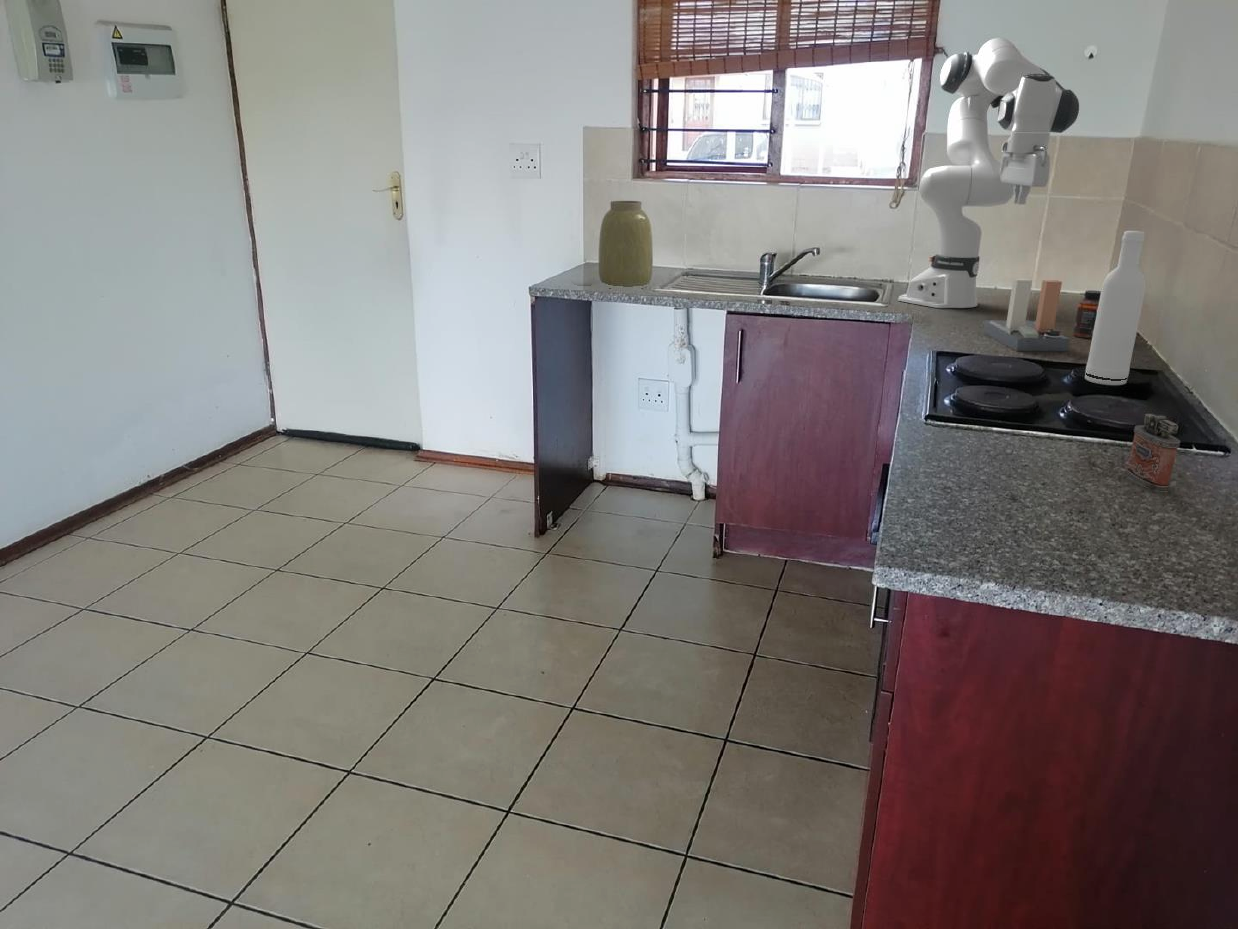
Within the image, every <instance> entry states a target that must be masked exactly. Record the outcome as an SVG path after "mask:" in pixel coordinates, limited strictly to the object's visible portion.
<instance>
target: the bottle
mask: <svg viewBox="0 0 1238 929" xmlns="http://www.w3.org/2000/svg"><path fill="white" fill-rule="evenodd" d="M1145 236H1146V233H1145V231H1141V230H1140V231H1139V230H1125V231H1124V232H1123V236H1122V238H1121V242H1122V243H1121V248H1120V252H1119V256H1118V257H1119V258H1118V263H1117V266H1116V268H1114V269H1112V270H1111V271H1110V272H1109V273H1108V274H1107V275H1106V277H1105V278H1104V280H1103V282H1102V285H1101V295H1100V300H1099V305H1098V310H1097V316H1096V321H1095V326H1094V331H1093V337H1092V338H1091V343H1090V349H1089V352H1088V353H1089V354H1088V359H1087V361H1086V362H1087V363H1086V366H1085V373H1084V374H1085V375H1084V379H1085V380H1086V381H1088V382H1091V383H1094V384H1098V385H1105V386H1122V385H1125V384H1127V381H1128V378H1129V374H1130V370H1131V369H1130V368H1131V367H1130V366H1131V361H1132V356H1133V352H1134V348H1135V342H1136V337H1137V333H1138V328H1139V323H1140V318H1141V313H1142V308H1143V302H1144V299H1145V294H1146V288H1147V285H1146V278H1145V275H1144V274H1143V272H1142V271H1141V270H1140V269H1139V263H1140V259H1141V254H1142V250H1143V244H1144V243H1145ZM1086 373H1087V374H1091V375H1094V376H1098V377H1103V378H1110V379H1125V378H1127V379H1126V380H1121V381H1111V380H1102V379H1096V378H1092V377H1089V376H1087V375H1086Z"/></svg>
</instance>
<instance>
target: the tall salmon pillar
mask: <svg viewBox="0 0 1238 929" xmlns="http://www.w3.org/2000/svg"><path fill="white" fill-rule="evenodd" d="M1062 285H1063V281H1061V280H1057V279H1050V280H1049V279H1047V280H1046V279H1043V280H1042V282H1041V288H1040V294H1039V300H1038V305H1037V311H1036V318H1035V321H1036V323H1035V330H1036V331H1038V332H1046V330H1048V329H1055V324H1056V319H1057V312H1058V307H1059V301H1060V295H1061V292H1062V291H1061V289H1062Z"/></svg>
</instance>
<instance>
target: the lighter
mask: <svg viewBox="0 0 1238 929" xmlns="http://www.w3.org/2000/svg"><path fill="white" fill-rule="evenodd" d="M1133 428H1134V429H1133V432H1134V436H1133V441H1132V445H1131V451H1130V455H1129V459H1128V463H1127V464H1128V465H1127V467H1125V470H1124V475H1125V476H1126V477H1127V478H1128V479H1129V480H1132V481H1133V482H1135V484H1138V485H1140V486H1142V487H1144V488H1146V489H1148V490H1150V491H1154V492H1158V493H1168V492H1169V491H1170V488H1171V483H1170V481H1171V477H1172V473H1173V468H1174V464H1175V460H1176V456H1177V452H1178V448H1179V447H1180V446H1181V445H1180V444H1181V440H1180V439H1179V438H1177V437H1175V436H1174V435H1172V434H1177V433H1178V429H1179V425H1178V423H1174V422H1173V421H1170V420H1168V419H1167V417H1166V415H1155V414H1153V413H1145V415H1144V424H1141V425H1140V424H1139V425H1135V426H1134V427H1133Z"/></svg>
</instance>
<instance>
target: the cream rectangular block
mask: <svg viewBox="0 0 1238 929" xmlns="http://www.w3.org/2000/svg"><path fill="white" fill-rule="evenodd" d="M1012 279H1013V280H1012V284H1011V285H1012V286H1011V291H1010V292H1011V293H1010V297H1009V304H1008V311H1007V318H1006V321H1007V323H1006V328H1007V329H1009V330H1011V331H1018V330H1019V327H1025V322H1026V321H1027V320H1026V319H1027V317H1028V309H1029V303H1030V297H1031V290H1032V284H1033V280H1032V279H1030V278H1012Z"/></svg>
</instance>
